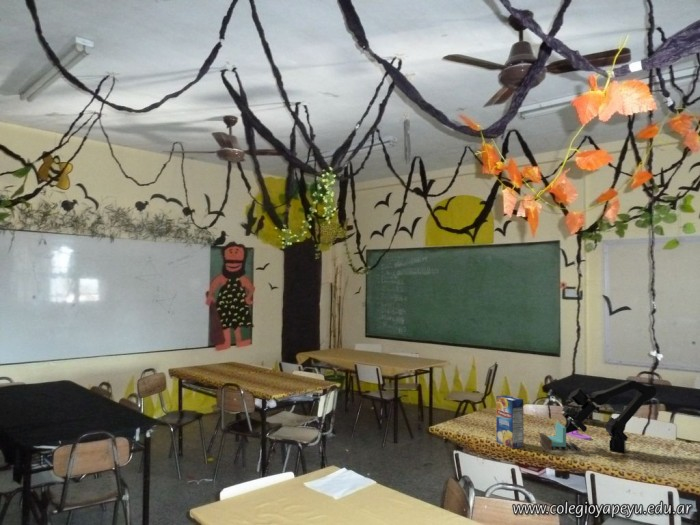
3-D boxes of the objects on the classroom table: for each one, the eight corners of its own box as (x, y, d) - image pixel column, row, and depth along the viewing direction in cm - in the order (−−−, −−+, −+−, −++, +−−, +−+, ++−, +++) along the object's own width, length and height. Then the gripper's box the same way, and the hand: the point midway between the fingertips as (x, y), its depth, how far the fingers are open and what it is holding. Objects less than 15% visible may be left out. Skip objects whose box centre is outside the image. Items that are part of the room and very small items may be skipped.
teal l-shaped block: (558, 440, 264) (558, 422, 265) (566, 446, 253) (565, 427, 254) (544, 440, 265) (544, 421, 265) (551, 446, 254) (551, 427, 254)
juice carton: (496, 442, 269) (496, 396, 271) (507, 440, 272) (507, 395, 274) (512, 448, 258) (512, 400, 260) (523, 446, 262) (523, 399, 263)
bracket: (565, 435, 286) (565, 422, 286) (572, 433, 289) (571, 421, 289) (587, 441, 275) (586, 427, 275) (593, 439, 278) (593, 426, 278)
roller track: (573, 445, 265) (573, 434, 265) (583, 453, 252) (583, 441, 252) (538, 444, 266) (538, 432, 266) (546, 452, 253) (546, 439, 253)
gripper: (566, 396, 269) (545, 417, 269) (579, 404, 251) (557, 426, 251) (581, 412, 268) (560, 432, 268) (596, 420, 250) (573, 443, 250)
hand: (562, 433), depth 259 cm, fingers closed, pressing on teal l-shaped block
